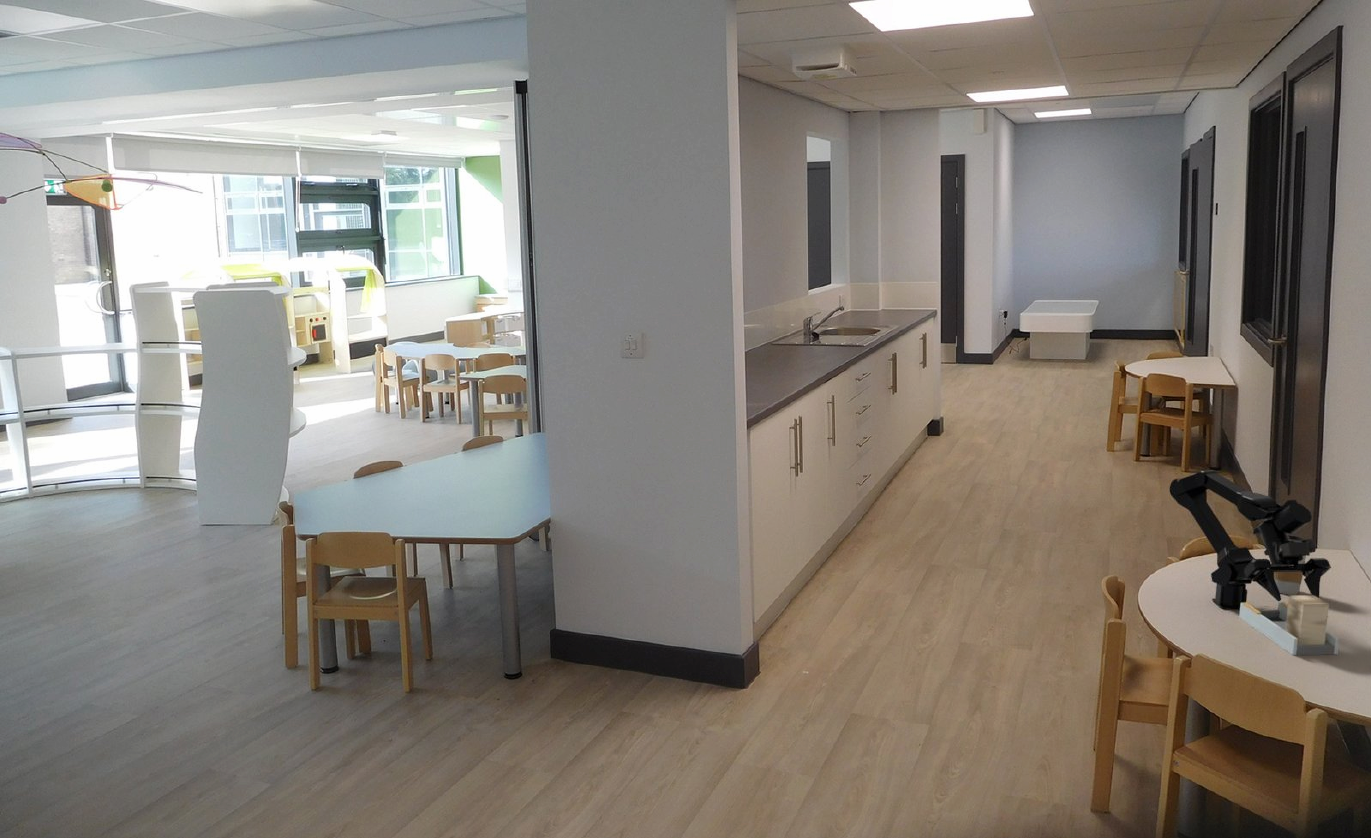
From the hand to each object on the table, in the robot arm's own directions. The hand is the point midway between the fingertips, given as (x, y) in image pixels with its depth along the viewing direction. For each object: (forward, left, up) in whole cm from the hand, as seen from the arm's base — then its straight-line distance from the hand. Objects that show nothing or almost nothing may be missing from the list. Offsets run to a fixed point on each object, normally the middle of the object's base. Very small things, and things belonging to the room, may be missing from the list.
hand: (1298, 600), depth 262 cm
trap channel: (0, +3, -10) cm, 11 cm away
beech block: (0, -4, -8) cm, 9 cm away
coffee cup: (+15, +36, -10) cm, 40 cm away
